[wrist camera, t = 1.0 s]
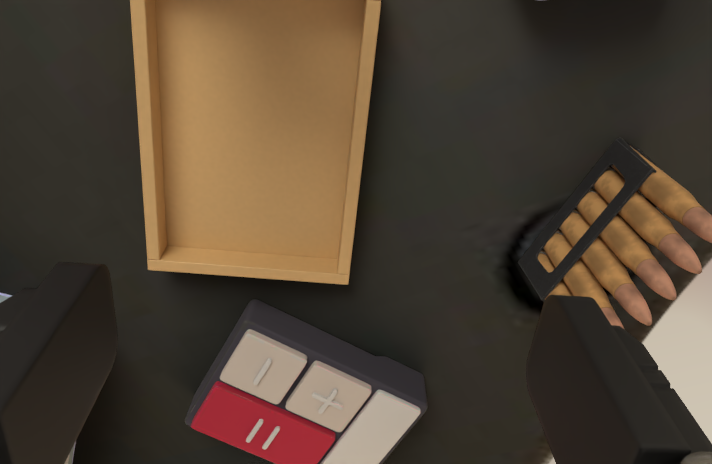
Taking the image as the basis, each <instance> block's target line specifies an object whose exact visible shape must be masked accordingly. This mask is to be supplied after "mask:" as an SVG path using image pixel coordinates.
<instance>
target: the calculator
mask: <svg viewBox="0 0 712 464" xmlns="http://www.w3.org/2000/svg"><path fill="white" fill-rule="evenodd" d="M427 409H428V404H427V395H426V388H425V380H424V376H423V374H421V373H419V372H417V371H415V370H413V369H411V368H409V367H407V366H405V365H403V364H401V363H399V362H397V361H394V360H392V359H390V358H388V357H386V356H374V355H372V354H370V353H368V352H366V351H364V350H361V349H359V348H357V347H355V346H353V345H351V344H349V343H347V342H345V341H343V340H341V339H339V338H336V337H334V336H332V335H330V334H328V333H326V332H324V331H322V330H320V329H318V328H316V327H314V326H312V325H309V324H307V323H305V322H303V321H301V320H299V319H297V318H295V317H293V316H291V315H289V314H287V313H284V312H282V311H280V310H278V309H276V308H274V307H272V306H270V305H268V304H266V303H264V302H262V301H259V300H257V299H253V300H251V301H250V302H249V303H248V305H247V306H246V308H245V310H244V311H243V313H242V315H241V317H240V318H239V320H238V322H237V323H236V325H235V327H234V328H233V330H232V332H231V333H230V335H229V337H228V339H227V340H226V342H225V344H224V345H223V347H222V349H221V350H220V352H219V354H218V355H217V357H216V359H215V360H214V362H213V364H212V366H211V367H210V369H209V371H208V372H207V374H206V376H205V377H204V379H203V381H202V382H201V384H200V386H199V387H198V389H197V391H196V393H195V395H194V397H193V400H192V402H191V405H190V407H189V410H188V413H187V415H186V418H185V423H186V424H187V425H189V426H191V428H193V429H195V430H197V431H199V432H201V433H204V434H206V435H209V436H211V437H213V438H216V439H218V440H221V441H223V442H225V443H228V444H230V445H232V446H235V447H237V448H240V449H242V450H244V451H247V452H249V453H252V454H254V455H256V456H259V457H261V458H263V459H266V460H268V461H271V462H273V463H275V464H382V463H383V462H384V461H385V460H386V458H387V457H388V456H389V455H390V454H391V452H392V451H393V450H394V449H395V448H396V446H397V445H398V444H399V443H400V442H401V440H402V439H403V438H404V437H405V436H406V434H407V433H408V432H409V431H410V430H411V428H412V427H413V426H414V425H415V424H416V423H417V421H418V420H419V419H420V418H421V417H422V415H423V414H424V413H425V412H426V410H427Z"/></svg>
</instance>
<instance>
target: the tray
mask: <svg viewBox="0 0 712 464" xmlns="http://www.w3.org/2000/svg"><path fill="white" fill-rule="evenodd" d="M130 7H131V22H132V37H133V52H134V67H135V82H136V97H137V111H138V126H139V141H140V156H141V171H142V186H143V201H144V216H145V230H146V245H147V258H148V260H147V263H148V270H156V271H169V272H182V273H196V274H209V275H223V276H236V277H250V278H263V279H276V280H290V281H303V282H317V283H330V284H344V285H348V283H349V274H350V266H351V257H352V249H353V240H354V232H355V223H356V215H357V206H358V198H359V189H360V180H361V172H362V163H363V155H364V146H365V138H366V129H367V121H368V112H369V104H370V95H371V87H372V78H373V70H374V61H375V53H376V44H377V35H378V27H379V18H380V10H381V0H130Z"/></svg>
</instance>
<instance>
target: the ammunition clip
mask: <svg viewBox="0 0 712 464" xmlns="http://www.w3.org/2000/svg"><path fill="white" fill-rule="evenodd" d="M637 190H638V191H640V192H641V193H642V194H643V195H644V196H645V197H646V199H645V198H644V197H643V196H642V195H641V194H640V193H639V192H638V191H637ZM656 206H657V207H658V208H659V209H660V210H661V211H662V212H664V213H665V214H666V215H667V216H668V217H670V218H672V219H674V220H677V221H678V222H680V223H681V224H682V225H684V226H685V227H687V228H688V229H690V230H691V231H692V232H693V233H694V234H696V235H697V236H699V237H701V238H702V239H704V240H706V241H708V242H711V243H712V215H710V214H709V213H708V212H707V211H706V210H705V209H704V208H703V207H702V206H701V205H700V204H699V203H698V202H697V201H696V199H695V198H694V196H693V195H692V194H691V193H690V192H688V191H687V190H686V189H685V188H683V187H682V186H681V185H680V184H678V183H677V182H676V181H674V180H673V179H672V178H671V177H669V176H668V175H667V174H666V173H665V172H664V171H663V170H661V169H660V168H659V167H658V166H657V165H656V164H655V163H654V162H653V161H652V160H651V159H649V158H648V157H647V156H646V155H645V154H644V153H643V152H642V151H641V150H640V149H638V148H636V147H635V146H633V145H631V144H630V143H628V142H627V141H625V140H623V139H622V138H617V139H615V141H614V142H613V143H612V144H611V146H610V147H609V148H608V149H607V151H606V152H605V153H604V154H603V156H602V157H601V158H600V160H599V161H598V162H597V163H596V165H595V166H594V167H593V168H592V170H591V171H590V172H589V173H588V175H587V176H586V177H585V178H584V180H583V181H582V182H581V183H580V185H579V186H578V187H577V188H576V190H575V191H574V192H573V193H572V195H571V196H570V197H569V198H568V200H567V201H566V202H565V203H564V205H563V206H562V207H561V208H560V210H559V211H558V212H557V213H556V215H555V216H554V217H553V218H552V220H551V221H550V222H549V224H548V225H547V226H546V227H545V229H544V230H543V231H542V232H541V234H540V235H539V236H538V237H537V239H536V240H535V241H534V242H533V244H532V245H531V246H530V247H529V249H528V250H527V251H526V252H525V254H524V255H523V256H522V257H521V259H520V260H519V261H518V263H519V265H520V267H521V268H522V270H523V272H524V273H525V275H526V276H527V278H528V280H529V281H530V283H531V284H532V286H533V288H534V289H535V291H536V292H537V294H538V295H539V297H540V299H541V300H542V301H544V302H545V300H546V298H547V297H548V296H549V295H566V296H582V297H591V298H593V299H594V300H595V301H596V302H597V304H598V305H599V307H600V308H601V310H602V311H603V313H604V314H605V316H606V318H607V319H608V321H609V322H610V324H611V325H616V326H621V327H622V328H623V329H624V327H623V325H622V323H621V321H620V319H619V318H618V316H617V315H616V313H615V311H614V309H613V308H612V306H611V304H610V302H609V299H608V297H607V295H606V293H605V291H604V290H603V288H602V287H601V285H602V286H603V287H604V288H605V289H606V290H608V291H609V292H610V293H611V294H612V296H613V297H614V298H615V299H616V300H617V301H618V302H619V303H620V305H621V306H622V307H623V308H624V309H625V310H626V311H627V312H628V313H629V314H630V315H631V316H633V317H634V318H635V319H636V320H638V321H639V322H641V323H643V324H646V325H651V324H652V316H651V313H650V310H649V307H648V305H647V303H646V301H645V299H644V298H643V296H642V295H641V293H640V292H639V291H638V289H637V288H636V286H635V284H634V283H633V282H632V280H631V279H630V276H629V274H628V272H627V270H626V268H625V267H624V266H623V264H624V265H625V266H627V267H628V268H630V269H631V270H632V271H633V272H634V273H635V274H636V275H637V276H638V277H640V278H641V279H642V281H643V282H644V283H645V284H646V285H648V286H649V287H650V288H651V289H652V290H653V291H655V292H656V293H658V294H659V295H661V296H663V297H664V298H667V299H670V300H675V299H676V290H675V288H674V285H673V283H672V281H671V279H670V277H669V276H668V274H667V273H666V271H665V270H664V269H663V268H662V267H661V266H660V264H659V263H658V261H657V260H656V259H655V258H654V256H653V255H652V253H651V251H650V249H649V247H648V246H647V245H646V243H645V242H644V241H643V240H642V239H641V238H640V237H639V236H638V235H637V234H636V233H635V231H636V232H637V233H638V234H639V235H640V236H641V237H642V238H643V239H644V240H645V241H646V242H648V243H650V244H652V245H653V246H655V247H656V248H657V249H658V250H660V251H661V252H662V253H663V254H664V255H666V256H667V257H668V258H669V259H670V260H671V261H672V262H674V263H675V264H676V265H678V266H680V267H681V268H683V269H685V270H687V271H689V272H692V273H696V274H700V273H701V272H702V267H701V263H700V261H699V259H698V257H697V255H696V254H695V252H694V251H693V249H692V248H691V247H690V246H689V244H688V243H687V242H686V241H685V240H684V239H682V237H681V236H680V235H679V234H678V233H677V231H676V230H675V229H674V228H673V226H672V224H671V222H670V221H669V220H668V219H667V218H666V217H665V216H664V215H663V214H661V213H660V212H659V211H658V210H657V209H656ZM618 214H619V215H620V216H621V217H622V218H623V219H624V220H625V221H626V222H625V221H624V220H623V219H622V218H621V217H620V216H619V215H618ZM605 243H606V244H605ZM614 254H615V255H616V256H617V257H616V256H615V255H614ZM618 259H619V260H620V261H621V262H622V263H623V264H622V263H621V262H620V261H619V260H618ZM586 265H587V266H586ZM596 279H597V280H598V281H597V280H596ZM599 283H600V284H601V285H600V284H599Z"/></svg>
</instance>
